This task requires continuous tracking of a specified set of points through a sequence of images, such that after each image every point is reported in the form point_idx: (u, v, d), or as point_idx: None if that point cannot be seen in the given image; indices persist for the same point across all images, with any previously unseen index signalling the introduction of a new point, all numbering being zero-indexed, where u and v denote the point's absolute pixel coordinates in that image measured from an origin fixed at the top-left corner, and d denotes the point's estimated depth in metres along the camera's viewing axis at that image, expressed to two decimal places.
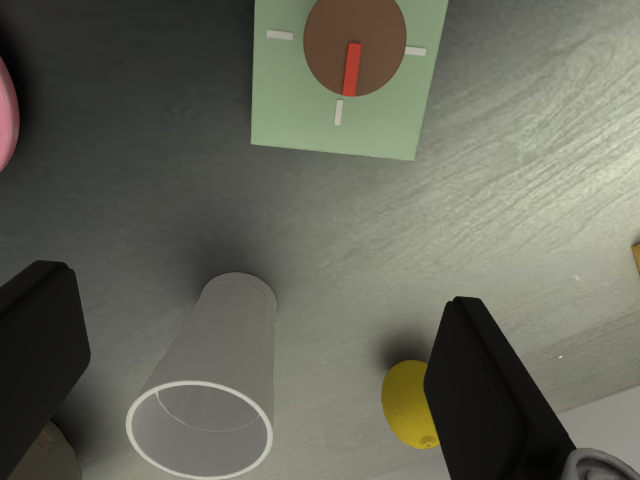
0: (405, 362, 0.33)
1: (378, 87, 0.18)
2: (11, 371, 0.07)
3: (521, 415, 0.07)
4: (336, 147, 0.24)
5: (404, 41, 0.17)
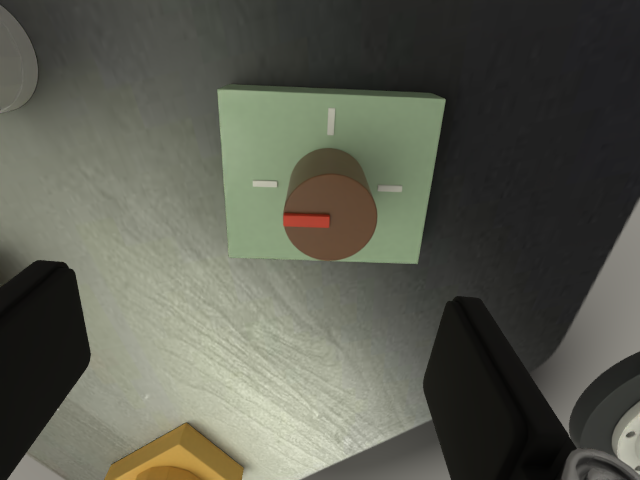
0: None
1: (293, 243, 0.19)
2: (11, 371, 0.07)
3: (520, 415, 0.07)
4: (229, 184, 0.23)
5: (333, 259, 0.19)
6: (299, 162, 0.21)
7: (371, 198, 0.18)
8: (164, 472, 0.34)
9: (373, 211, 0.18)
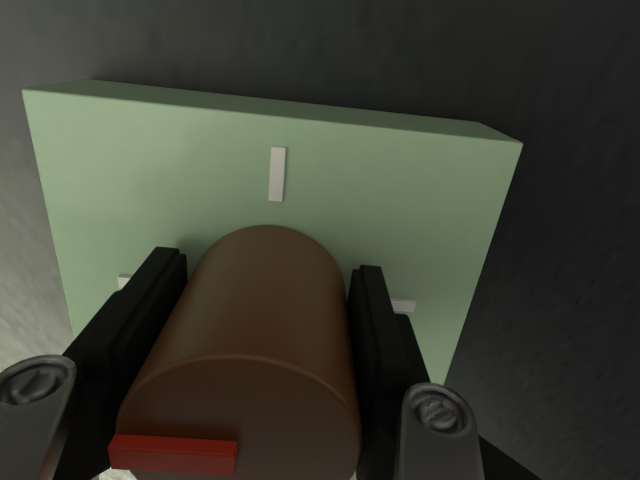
0: None
1: None
2: (155, 340, 0.09)
3: (377, 356, 0.07)
4: (73, 279, 0.11)
5: None
6: (207, 254, 0.10)
7: (348, 412, 0.07)
8: None
9: (352, 439, 0.07)
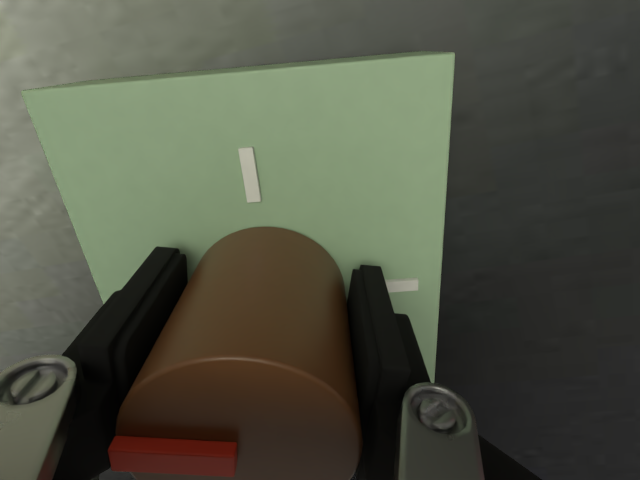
0: None
1: None
2: (155, 340, 0.09)
3: (377, 356, 0.07)
4: (230, 88, 0.09)
5: None
6: (206, 255, 0.10)
7: (348, 412, 0.07)
8: None
9: (352, 439, 0.07)
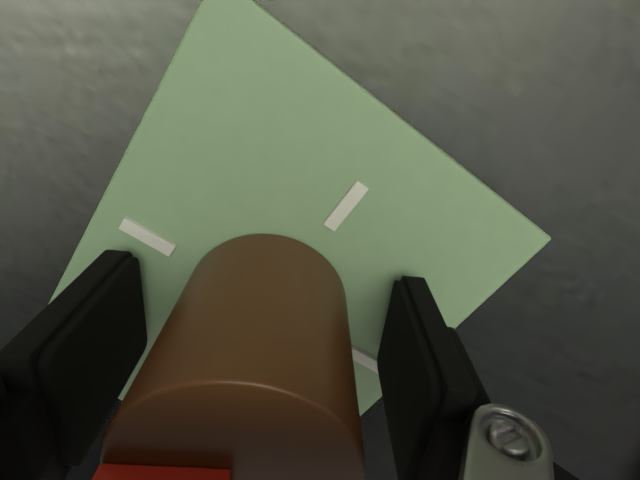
0: None
1: None
2: (96, 348, 0.08)
3: (438, 376, 0.07)
4: (394, 133, 0.09)
5: None
6: (200, 265, 0.10)
7: (349, 437, 0.06)
8: None
9: (354, 465, 0.06)
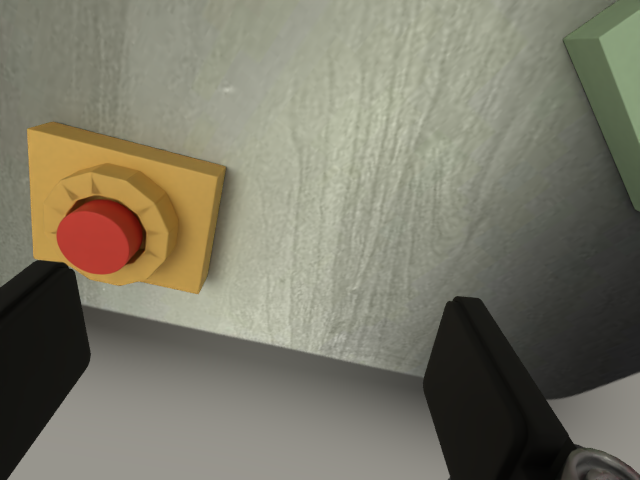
0: None
1: None
2: (11, 371, 0.07)
3: (521, 415, 0.07)
4: None
5: None
6: None
7: None
8: (158, 191, 0.21)
9: None
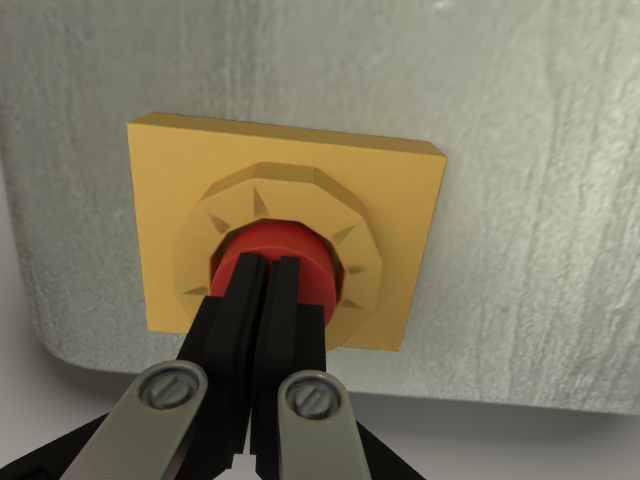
0: None
1: None
2: (254, 344, 0.09)
3: (265, 344, 0.07)
4: None
5: None
6: None
7: None
8: (352, 197, 0.12)
9: None
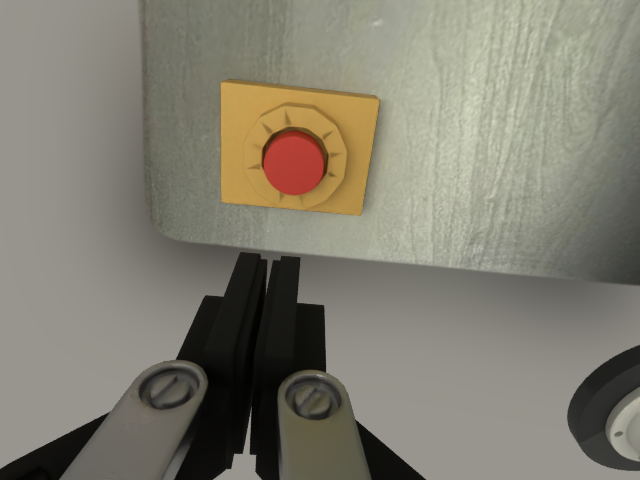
0: None
1: None
2: (254, 344, 0.09)
3: (265, 344, 0.07)
4: None
5: None
6: None
7: None
8: (332, 119, 0.25)
9: None
